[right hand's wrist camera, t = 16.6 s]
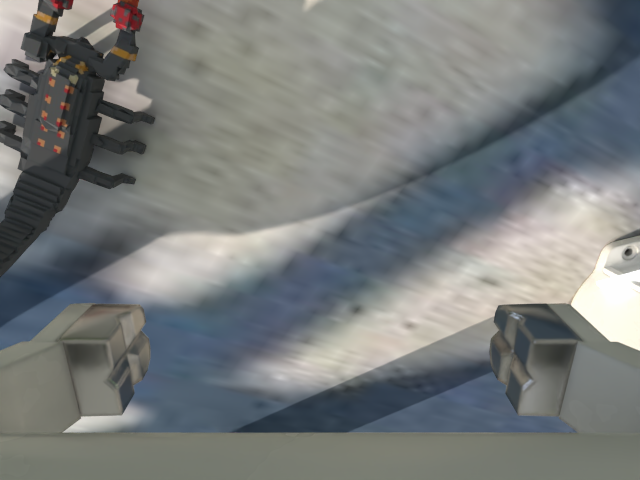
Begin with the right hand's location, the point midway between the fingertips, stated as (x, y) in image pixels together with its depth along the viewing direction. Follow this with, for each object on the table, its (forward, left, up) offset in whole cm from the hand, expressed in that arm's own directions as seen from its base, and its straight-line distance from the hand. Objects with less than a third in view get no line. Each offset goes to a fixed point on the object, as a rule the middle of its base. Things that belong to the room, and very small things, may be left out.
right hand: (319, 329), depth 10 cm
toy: (+19, -12, -36) cm, 42 cm away
